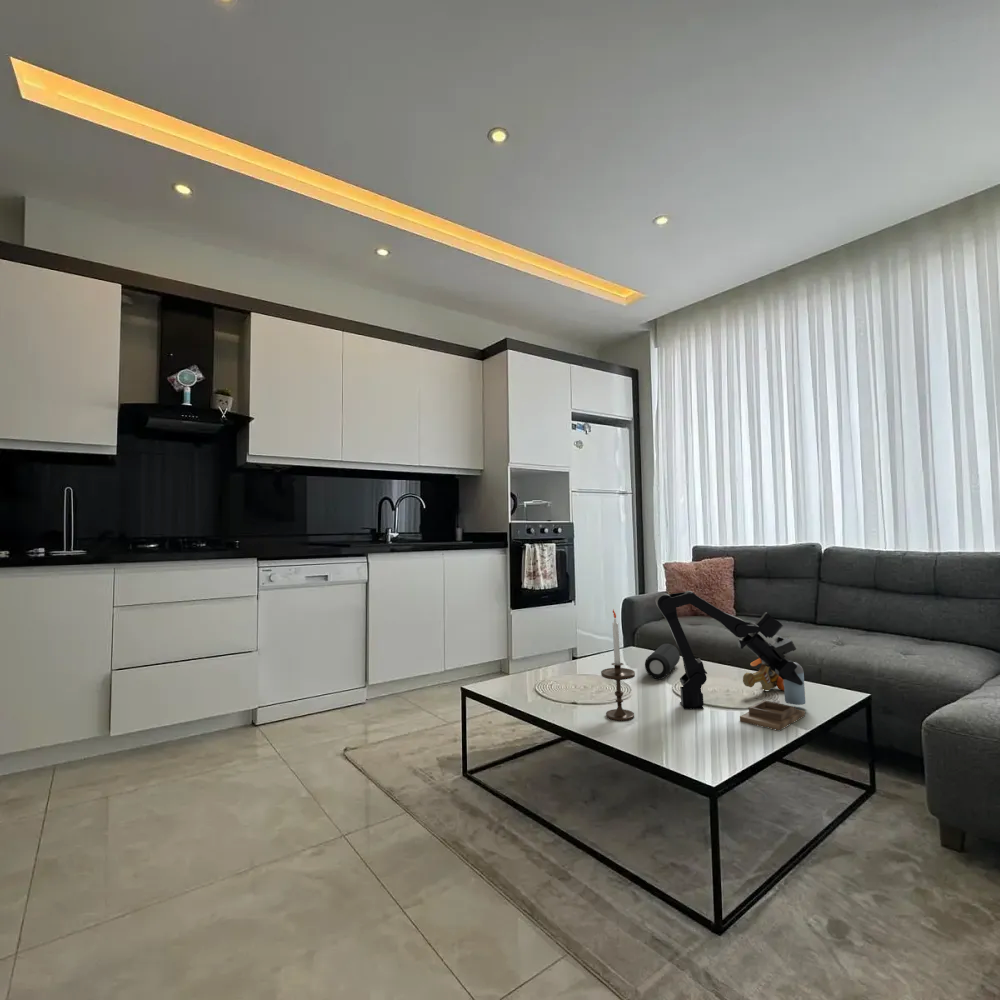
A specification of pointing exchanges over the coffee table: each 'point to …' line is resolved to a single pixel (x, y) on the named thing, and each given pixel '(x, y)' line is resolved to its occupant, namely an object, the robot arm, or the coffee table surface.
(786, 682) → the blue grey domed cylinder
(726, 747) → the coffee table surface
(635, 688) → the coffee table surface
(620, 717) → the candlestick
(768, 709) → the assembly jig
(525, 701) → the coffee table surface
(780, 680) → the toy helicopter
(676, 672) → the coffee table surface
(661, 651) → the portable speaker
